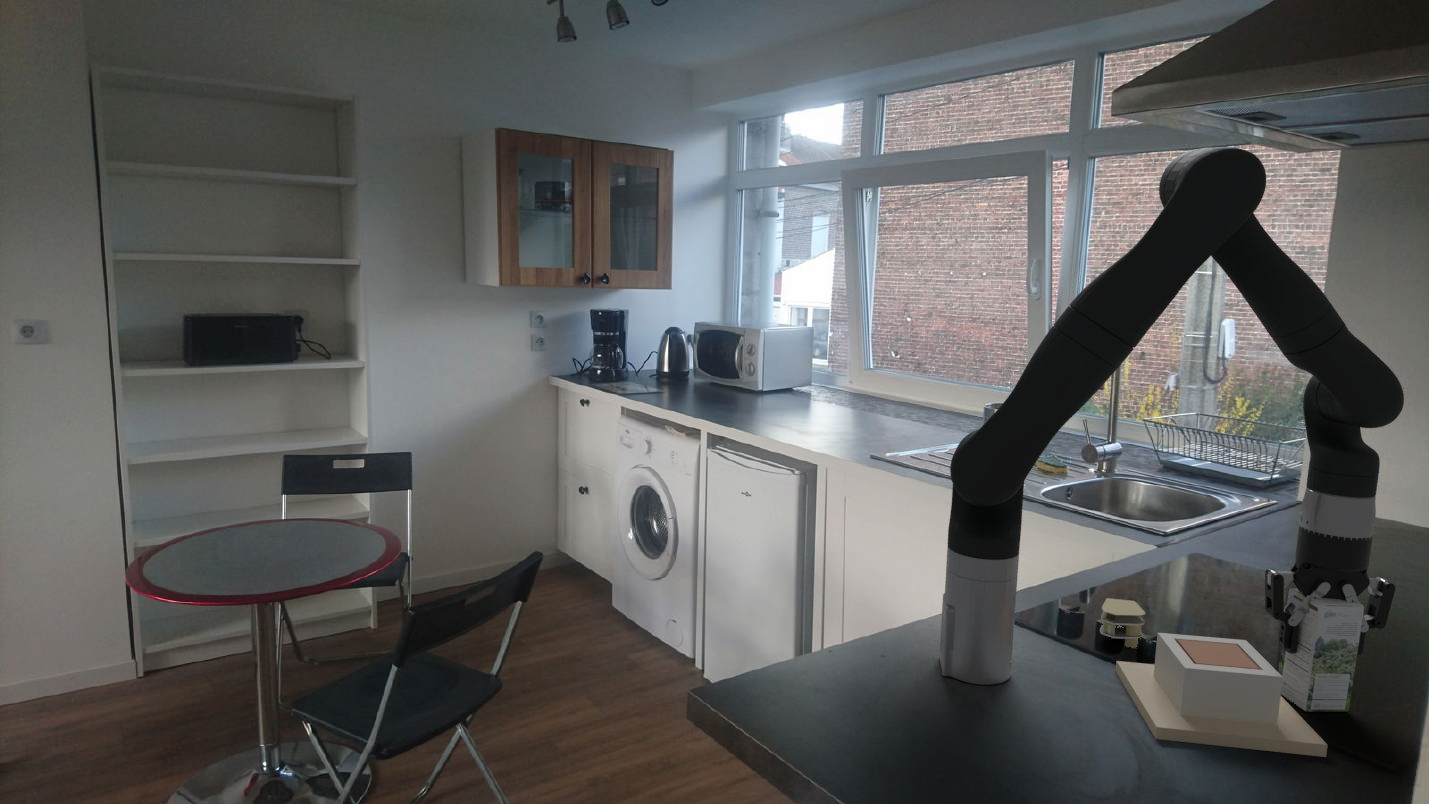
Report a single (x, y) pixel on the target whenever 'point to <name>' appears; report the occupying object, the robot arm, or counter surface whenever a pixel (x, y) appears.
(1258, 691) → the sleeve
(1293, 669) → the syrup box
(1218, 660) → the plunger seat
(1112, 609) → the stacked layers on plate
